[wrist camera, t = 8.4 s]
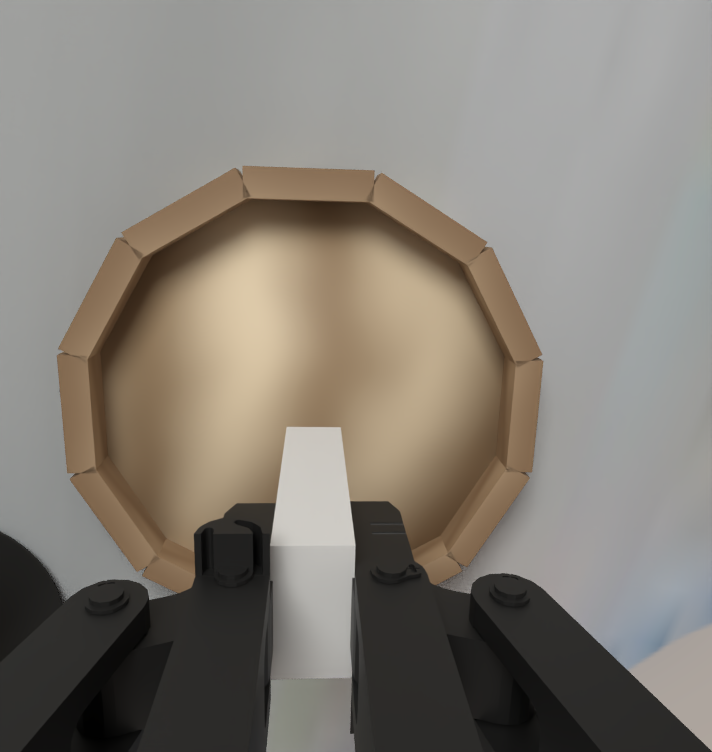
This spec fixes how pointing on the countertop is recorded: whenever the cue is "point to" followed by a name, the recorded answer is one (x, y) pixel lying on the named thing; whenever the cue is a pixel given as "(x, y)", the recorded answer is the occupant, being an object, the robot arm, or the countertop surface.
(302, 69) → the countertop surface
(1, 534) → the mug
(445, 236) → the tray
